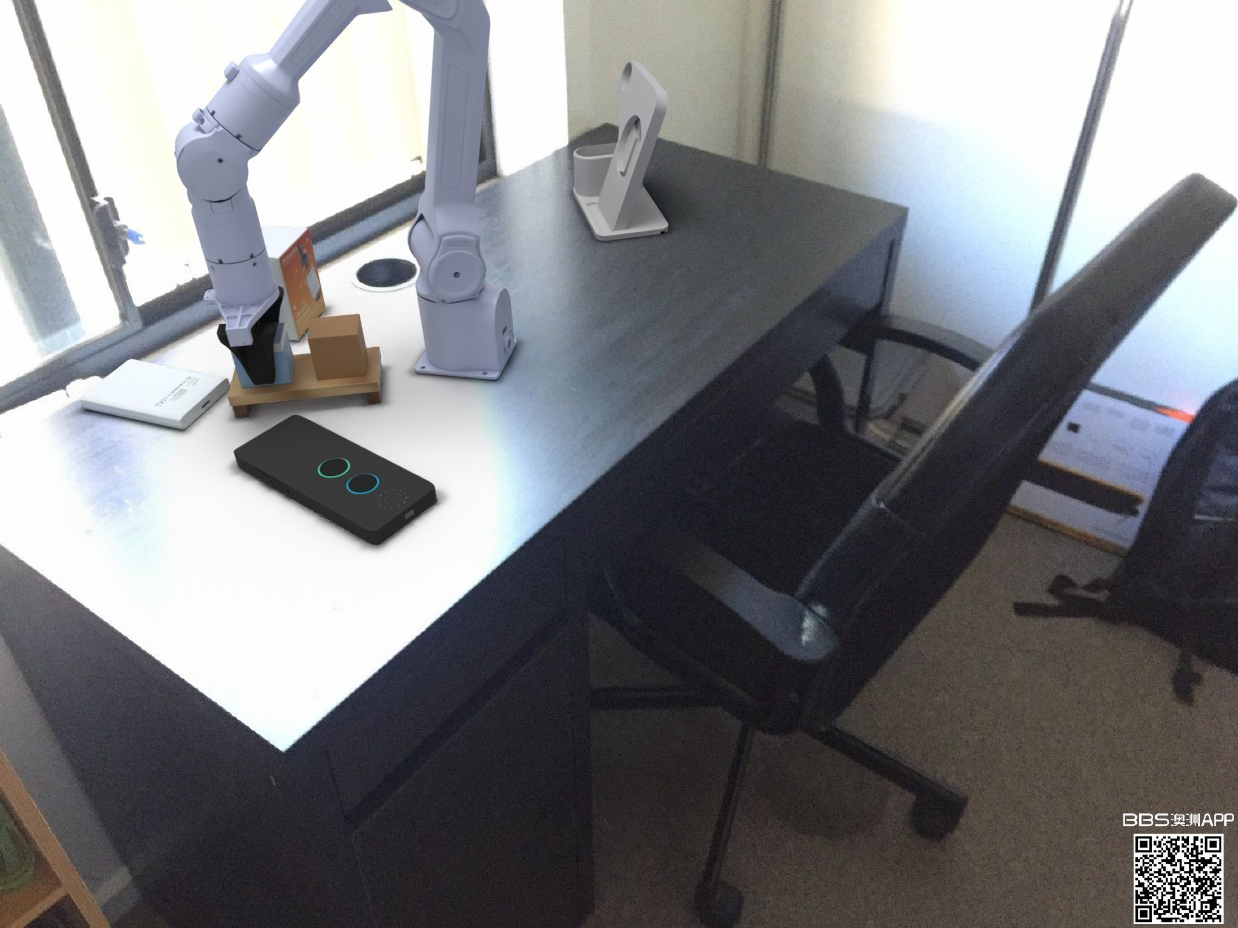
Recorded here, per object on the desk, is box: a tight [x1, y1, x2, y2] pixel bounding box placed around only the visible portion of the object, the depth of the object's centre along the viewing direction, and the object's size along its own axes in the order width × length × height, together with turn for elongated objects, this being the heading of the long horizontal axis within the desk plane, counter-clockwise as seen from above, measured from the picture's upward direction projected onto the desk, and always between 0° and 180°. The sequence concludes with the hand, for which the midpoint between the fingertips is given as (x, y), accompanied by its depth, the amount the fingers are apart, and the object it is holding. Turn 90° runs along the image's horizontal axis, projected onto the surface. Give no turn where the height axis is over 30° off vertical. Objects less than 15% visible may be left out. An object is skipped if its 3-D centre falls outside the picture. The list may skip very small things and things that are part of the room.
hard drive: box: [79, 358, 231, 430], centre depth 111 cm, size 2×8×12 cm
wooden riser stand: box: [227, 346, 384, 419], centre depth 111 cm, size 15×7×3 cm, turn 99°
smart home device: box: [233, 414, 438, 545], centre depth 99 cm, size 8×2×20 cm
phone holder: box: [572, 59, 669, 242], centre depth 140 cm, size 17×10×18 cm, turn 14°
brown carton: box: [307, 313, 367, 380], centre depth 109 cm, size 5×4×5 cm
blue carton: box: [230, 322, 295, 388], centre depth 108 cm, size 5×4×5 cm
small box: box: [261, 224, 327, 341], centre depth 120 cm, size 8×6×10 cm
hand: (267, 369), depth 109 cm, fingers closed on blue carton, 4 cm apart
